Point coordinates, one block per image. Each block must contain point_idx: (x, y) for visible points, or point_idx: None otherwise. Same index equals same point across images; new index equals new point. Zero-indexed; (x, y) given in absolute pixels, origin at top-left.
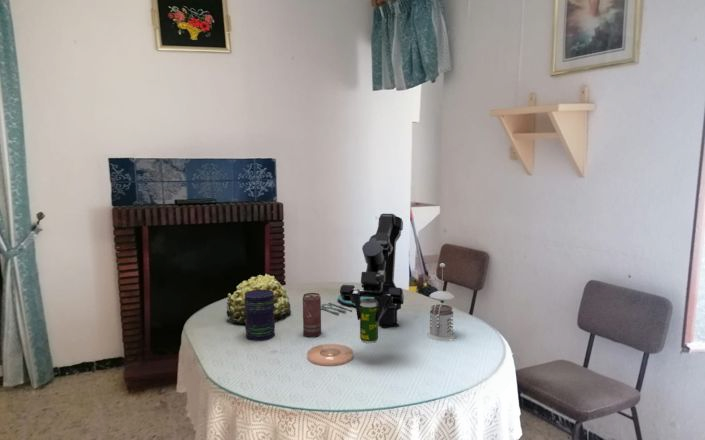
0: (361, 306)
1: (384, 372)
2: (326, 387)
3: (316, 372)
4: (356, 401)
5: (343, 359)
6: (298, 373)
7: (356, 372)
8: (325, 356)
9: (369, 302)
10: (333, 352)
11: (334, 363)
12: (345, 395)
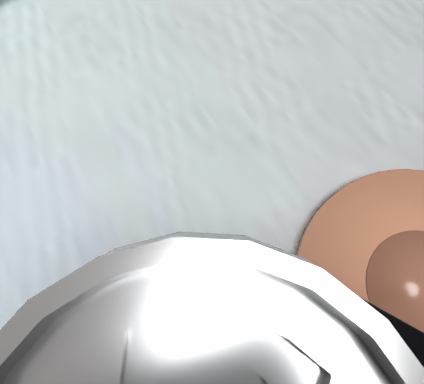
0: (285, 251)
1: (84, 260)
2: (231, 36)
3: (344, 114)
4: (84, 6)
5: (309, 246)
6: (396, 75)
7: (199, 195)
8: (407, 230)
9: (108, 372)
10: (407, 293)
11: (326, 201)
12: (138, 21)
